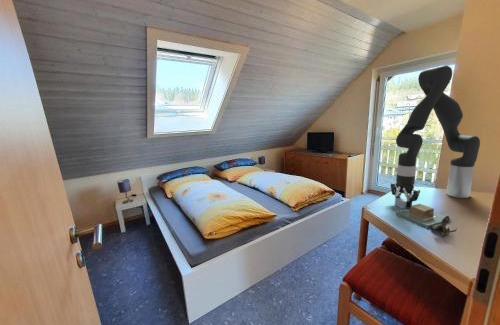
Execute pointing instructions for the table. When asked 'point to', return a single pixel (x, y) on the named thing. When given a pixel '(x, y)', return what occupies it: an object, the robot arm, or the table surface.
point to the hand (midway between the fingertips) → (402, 205)
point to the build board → (425, 223)
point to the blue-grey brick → (401, 202)
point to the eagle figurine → (443, 226)
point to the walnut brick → (422, 211)
